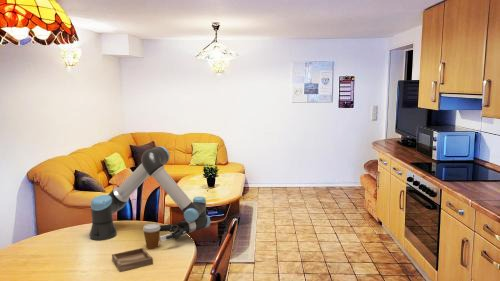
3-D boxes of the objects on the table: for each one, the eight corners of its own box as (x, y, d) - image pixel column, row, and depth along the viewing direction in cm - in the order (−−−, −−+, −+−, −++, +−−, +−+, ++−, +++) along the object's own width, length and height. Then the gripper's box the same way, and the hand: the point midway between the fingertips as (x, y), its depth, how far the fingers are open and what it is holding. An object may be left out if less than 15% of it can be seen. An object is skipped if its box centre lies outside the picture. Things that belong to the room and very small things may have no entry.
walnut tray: (112, 260, 207) (112, 254, 206) (143, 253, 215) (142, 247, 215) (120, 272, 193) (120, 266, 193) (153, 264, 202) (152, 258, 201)
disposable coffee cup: (156, 250, 218) (156, 229, 216) (140, 249, 220) (139, 228, 218) (164, 244, 227) (163, 223, 226) (148, 243, 229) (147, 222, 227)
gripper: (199, 238, 228) (166, 248, 214) (175, 227, 247) (143, 236, 232) (198, 225, 227) (165, 235, 213) (174, 215, 246) (142, 223, 231)
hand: (153, 235), depth 223 cm, fingers open, 13 cm apart
